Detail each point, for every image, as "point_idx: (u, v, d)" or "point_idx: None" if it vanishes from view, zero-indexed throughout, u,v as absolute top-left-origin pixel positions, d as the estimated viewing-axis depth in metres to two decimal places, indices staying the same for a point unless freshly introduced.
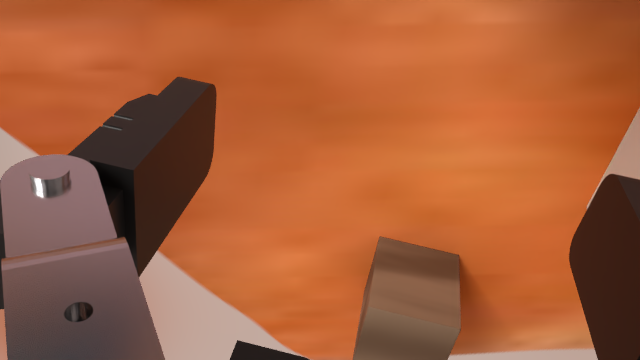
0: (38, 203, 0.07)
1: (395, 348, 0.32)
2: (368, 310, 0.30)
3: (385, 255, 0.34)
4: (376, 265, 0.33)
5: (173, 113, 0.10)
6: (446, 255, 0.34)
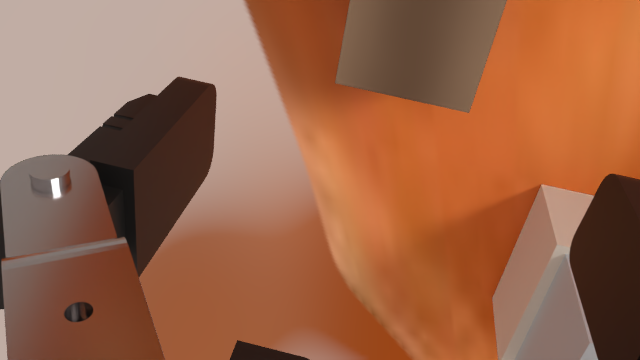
0: (38, 203, 0.07)
1: (415, 18, 0.19)
2: None
3: None
4: None
5: (173, 113, 0.10)
6: None
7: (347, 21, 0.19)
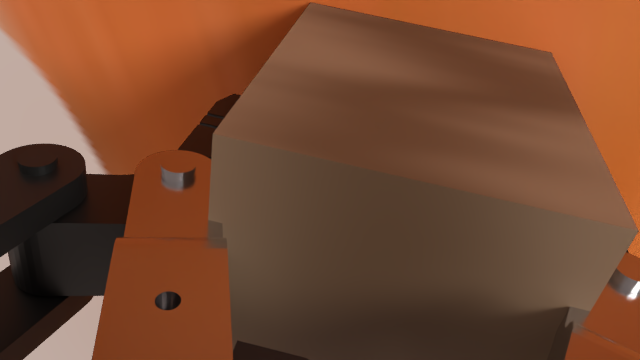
0: (175, 195, 0.08)
1: (365, 302, 0.08)
2: (608, 227, 0.06)
3: None
4: None
5: None
6: None
7: None
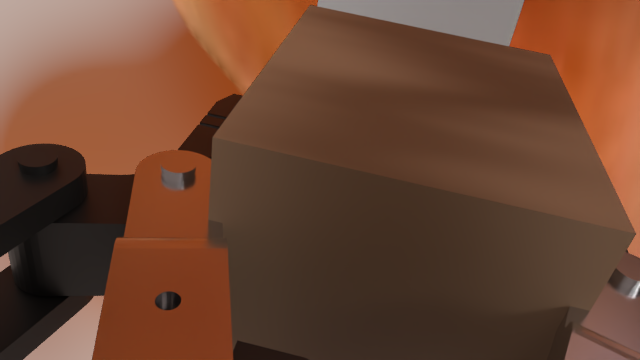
0: (175, 195, 0.08)
1: (365, 304, 0.08)
2: (606, 230, 0.06)
3: None
4: None
5: None
6: None
7: None
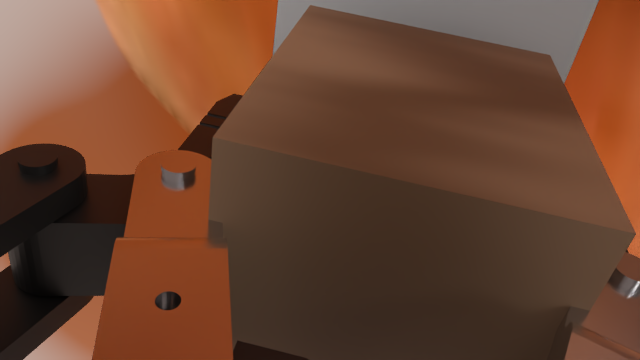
0: (175, 195, 0.08)
1: (365, 304, 0.08)
2: (605, 230, 0.06)
3: None
4: None
5: None
6: None
7: None
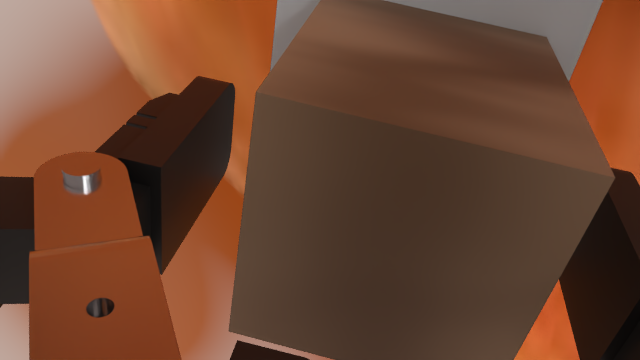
0: (72, 199, 0.07)
1: (381, 244, 0.09)
2: (590, 174, 0.08)
3: None
4: None
5: (196, 111, 0.10)
6: None
7: (241, 237, 0.09)
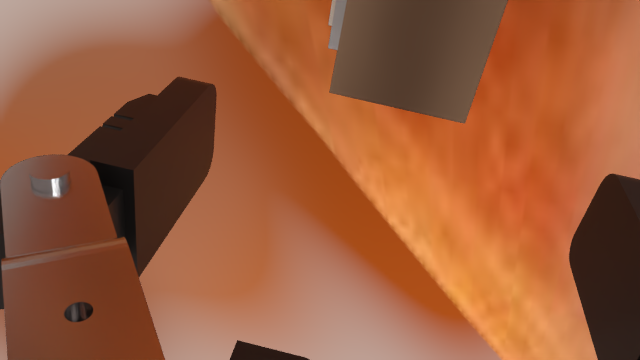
0: (38, 203, 0.07)
1: (410, 28, 0.19)
2: None
3: None
4: None
5: (173, 113, 0.10)
6: None
7: (342, 30, 0.19)
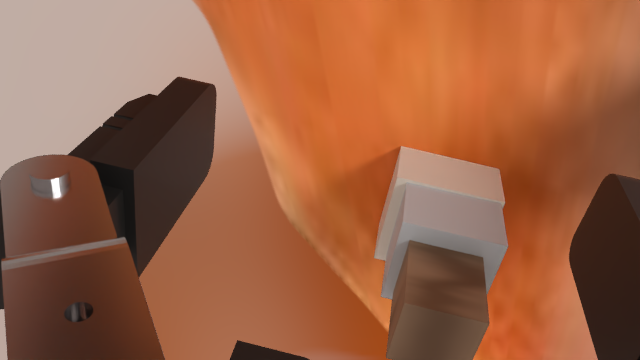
0: (38, 203, 0.07)
1: (433, 336, 0.34)
2: (483, 322, 0.33)
3: None
4: (485, 285, 0.35)
5: (173, 113, 0.10)
6: None
7: (395, 333, 0.34)
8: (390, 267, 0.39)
